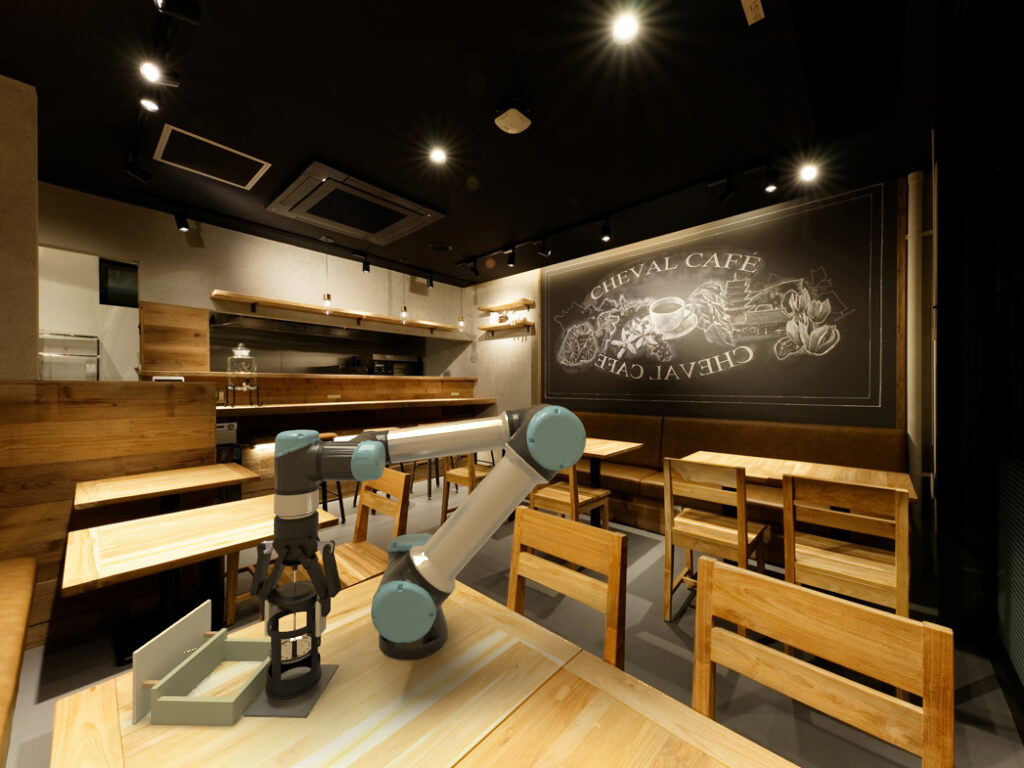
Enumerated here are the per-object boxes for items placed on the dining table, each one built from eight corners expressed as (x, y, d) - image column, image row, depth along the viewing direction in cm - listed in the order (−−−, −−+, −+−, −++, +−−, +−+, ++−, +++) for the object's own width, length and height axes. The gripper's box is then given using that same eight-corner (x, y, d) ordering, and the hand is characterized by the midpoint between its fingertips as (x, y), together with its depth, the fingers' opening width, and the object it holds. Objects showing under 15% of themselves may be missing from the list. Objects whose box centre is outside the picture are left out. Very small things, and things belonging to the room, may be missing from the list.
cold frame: (288, 658, 86) (288, 601, 86) (232, 725, 70) (233, 655, 69) (207, 656, 87) (208, 599, 87) (132, 723, 70) (132, 652, 70)
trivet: (338, 666, 84) (338, 664, 84) (306, 717, 71) (306, 716, 71) (285, 664, 84) (285, 663, 84) (243, 716, 71) (243, 714, 71)
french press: (295, 707, 71) (295, 575, 71) (249, 698, 73) (250, 569, 73) (337, 662, 83) (338, 548, 83) (297, 655, 85) (298, 543, 85)
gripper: (361, 507, 81) (360, 621, 81) (252, 505, 82) (252, 619, 82) (345, 520, 74) (344, 645, 74) (226, 518, 74) (225, 643, 74)
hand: (295, 631), depth 78 cm, fingers closed on french press, 9 cm apart
